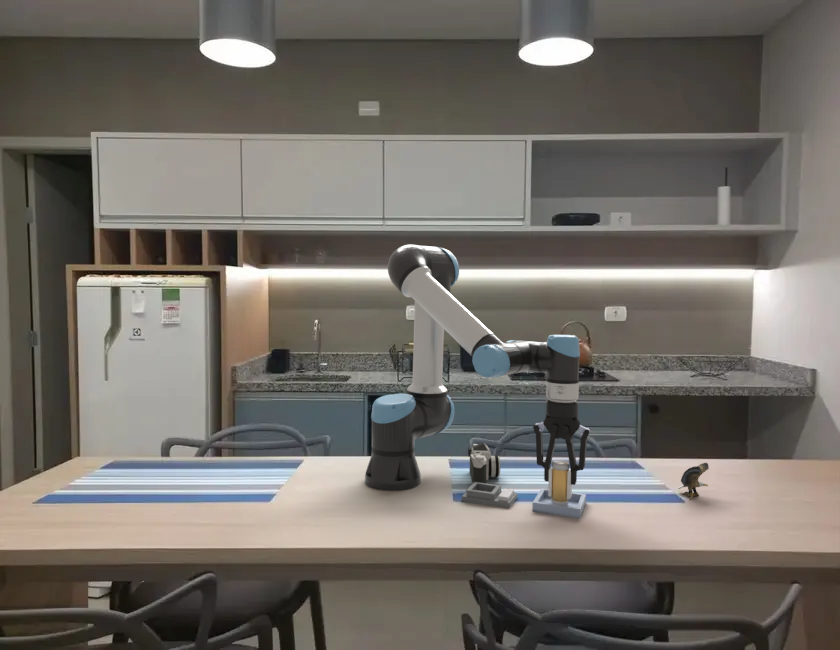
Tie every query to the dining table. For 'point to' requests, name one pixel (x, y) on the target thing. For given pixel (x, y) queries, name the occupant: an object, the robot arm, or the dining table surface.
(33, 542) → the dining table surface
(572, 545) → the dining table surface
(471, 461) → the camera
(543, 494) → the parts tray
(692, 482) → the eagle figurine
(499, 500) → the fuse block
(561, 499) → the fuse
